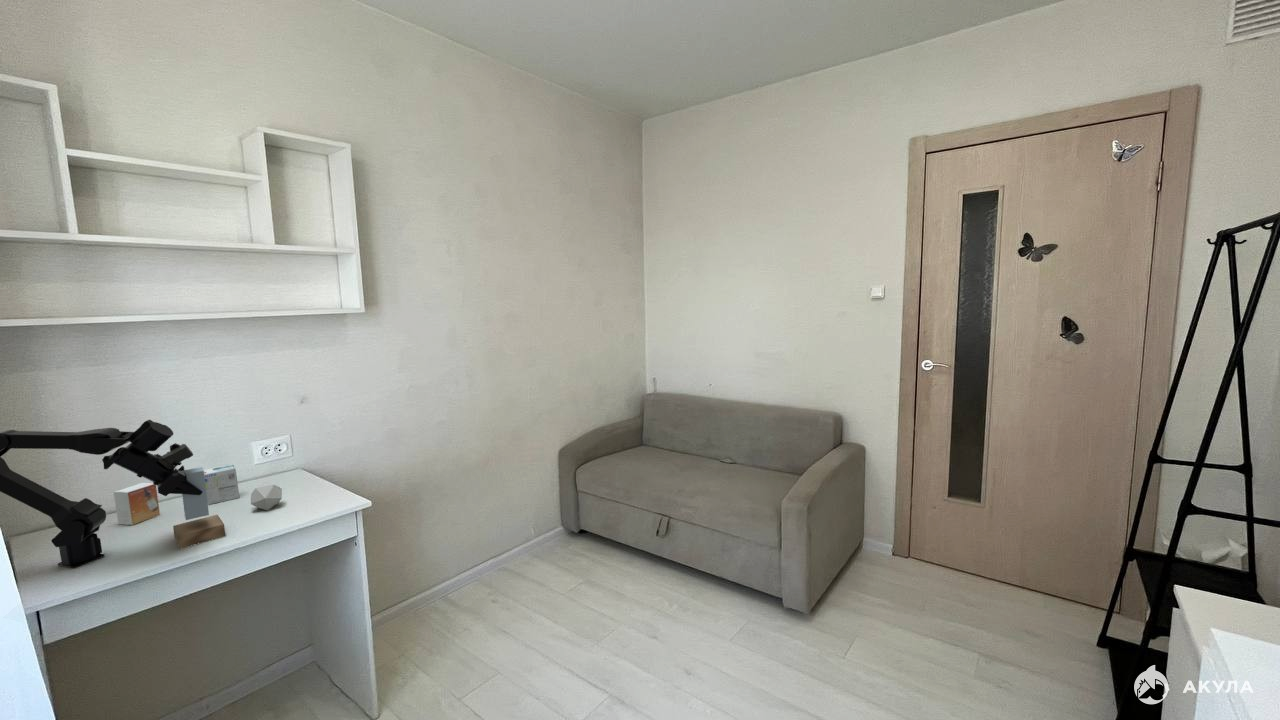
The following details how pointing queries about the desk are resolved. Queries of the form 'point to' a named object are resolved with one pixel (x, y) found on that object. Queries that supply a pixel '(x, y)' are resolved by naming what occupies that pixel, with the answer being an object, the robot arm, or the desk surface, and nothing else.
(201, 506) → the slate block
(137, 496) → the small box
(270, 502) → the die
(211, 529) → the walnut base block
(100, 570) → the desk surface
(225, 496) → the light bulb box
